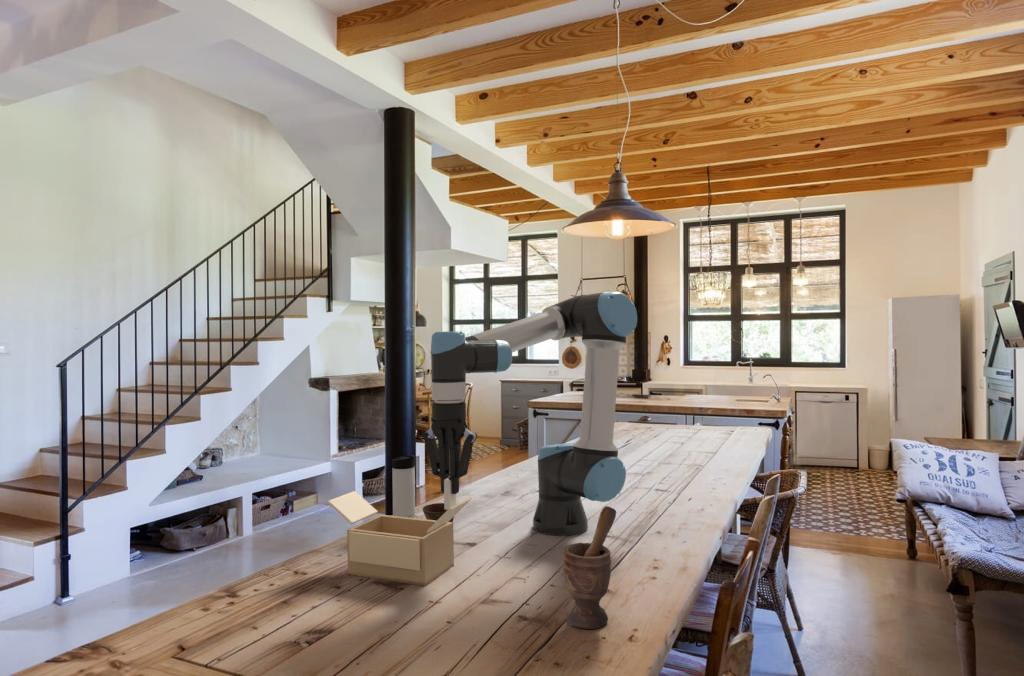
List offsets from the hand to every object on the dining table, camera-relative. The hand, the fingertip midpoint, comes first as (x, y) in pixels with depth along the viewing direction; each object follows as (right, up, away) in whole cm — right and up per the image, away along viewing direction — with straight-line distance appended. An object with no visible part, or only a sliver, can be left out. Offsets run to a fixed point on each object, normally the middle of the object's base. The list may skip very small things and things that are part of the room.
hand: (450, 507), depth 138 cm
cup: (-5, -16, +24) cm, 29 cm away
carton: (-12, -15, +5) cm, 20 cm away
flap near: (-3, -5, +1) cm, 6 cm away
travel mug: (-17, -16, +39) cm, 46 cm away
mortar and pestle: (+28, -15, -22) cm, 39 cm away
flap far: (-20, -5, +8) cm, 23 cm away
